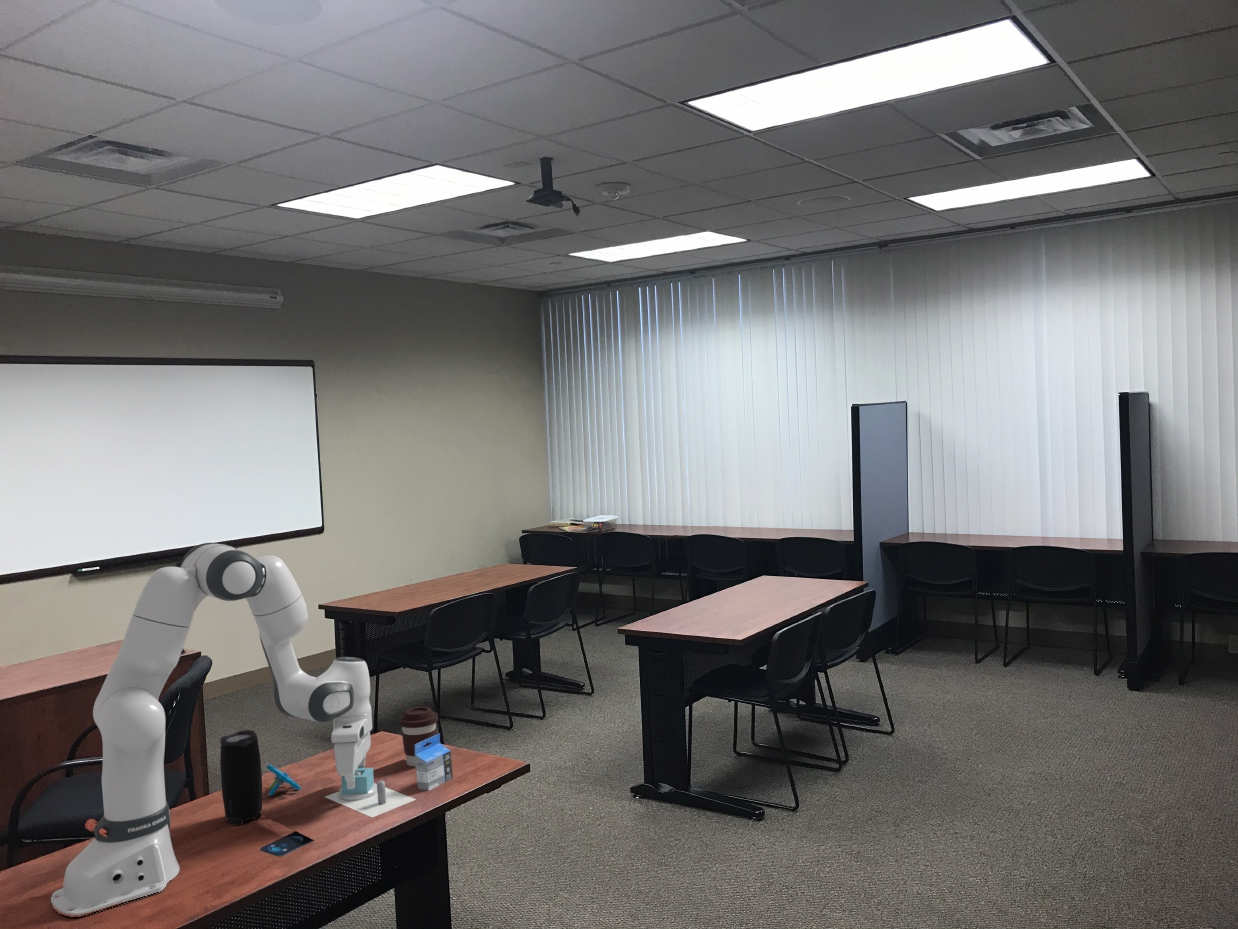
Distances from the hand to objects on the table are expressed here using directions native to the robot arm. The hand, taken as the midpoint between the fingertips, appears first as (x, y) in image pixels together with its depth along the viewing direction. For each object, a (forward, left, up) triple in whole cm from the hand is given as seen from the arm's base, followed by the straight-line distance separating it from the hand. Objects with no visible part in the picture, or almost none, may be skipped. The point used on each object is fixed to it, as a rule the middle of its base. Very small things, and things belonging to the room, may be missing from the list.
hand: (356, 780), depth 219 cm
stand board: (0, -5, -5) cm, 7 cm away
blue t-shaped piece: (-8, +20, -5) cm, 22 cm away
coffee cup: (+22, +5, -5) cm, 23 cm away
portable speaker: (-22, +13, -5) cm, 26 cm away
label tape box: (+15, -11, -5) cm, 19 cm away
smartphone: (-20, -8, -5) cm, 22 cm away
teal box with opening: (0, 0, -2) cm, 2 cm away
